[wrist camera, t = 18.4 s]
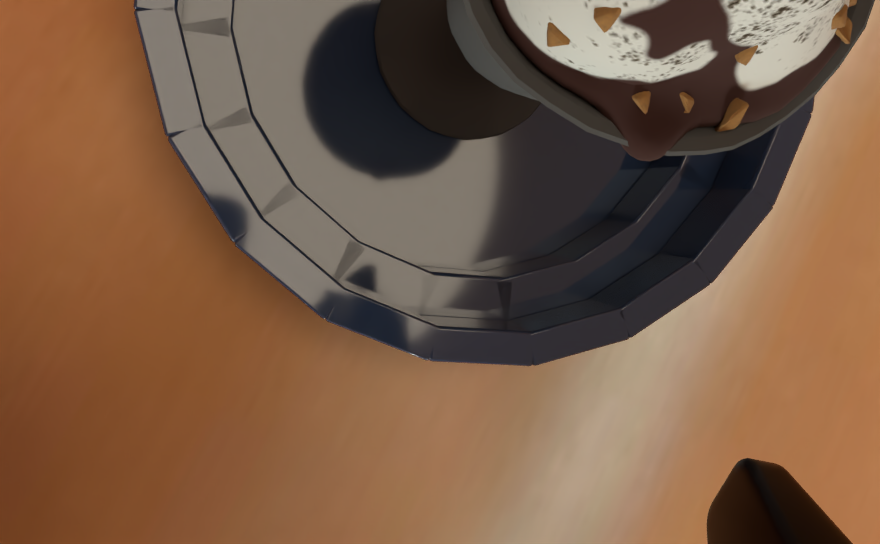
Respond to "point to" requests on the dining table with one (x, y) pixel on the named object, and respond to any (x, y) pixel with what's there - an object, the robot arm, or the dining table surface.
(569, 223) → the bowl
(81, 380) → the dining table surface
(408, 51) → the sundae
